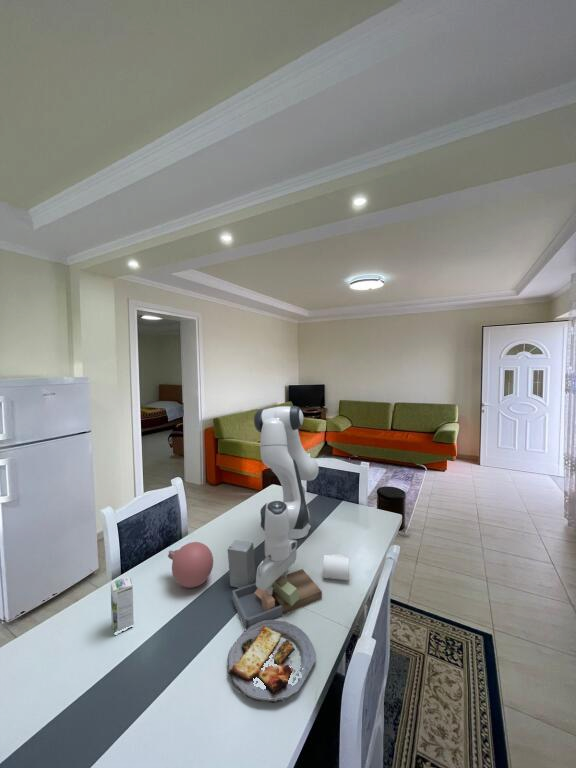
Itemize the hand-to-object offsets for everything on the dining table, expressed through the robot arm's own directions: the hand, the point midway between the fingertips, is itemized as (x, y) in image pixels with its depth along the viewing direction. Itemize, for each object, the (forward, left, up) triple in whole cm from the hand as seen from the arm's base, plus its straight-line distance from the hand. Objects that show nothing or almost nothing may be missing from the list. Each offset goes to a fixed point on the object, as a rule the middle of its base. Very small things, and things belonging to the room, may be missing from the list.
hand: (277, 586), depth 113 cm
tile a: (-3, -3, -3) cm, 5 cm away
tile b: (+3, -3, -2) cm, 5 cm away
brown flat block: (-1, +7, -6) cm, 9 cm away
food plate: (+20, -11, -6) cm, 23 cm away
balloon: (-26, -26, -6) cm, 37 cm away
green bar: (0, +2, -2) cm, 3 cm away
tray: (-1, -8, -6) cm, 10 cm away
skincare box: (-15, -8, -6) cm, 18 cm away
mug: (-3, +28, -6) cm, 29 cm away
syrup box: (-14, -49, -6) cm, 51 cm away
